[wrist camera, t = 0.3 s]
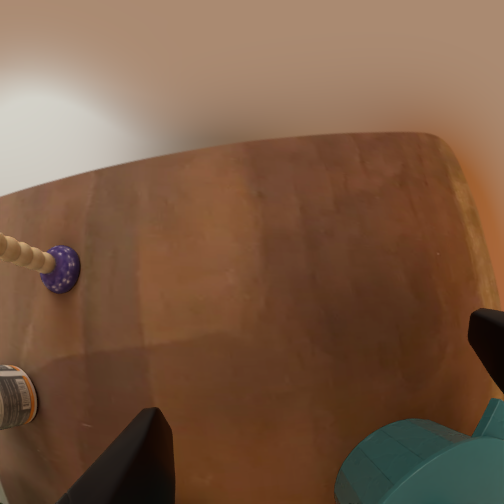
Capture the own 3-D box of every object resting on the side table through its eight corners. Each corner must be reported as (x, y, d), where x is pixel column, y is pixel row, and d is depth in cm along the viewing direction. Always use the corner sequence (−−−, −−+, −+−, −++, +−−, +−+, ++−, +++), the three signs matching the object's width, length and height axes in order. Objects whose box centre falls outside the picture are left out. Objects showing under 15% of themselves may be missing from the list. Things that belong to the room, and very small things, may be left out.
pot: (486, 414, 19) (550, 427, 11) (382, 556, 16) (412, 606, 7) (404, 366, 21) (466, 373, 13) (286, 526, 18) (293, 590, 9)
